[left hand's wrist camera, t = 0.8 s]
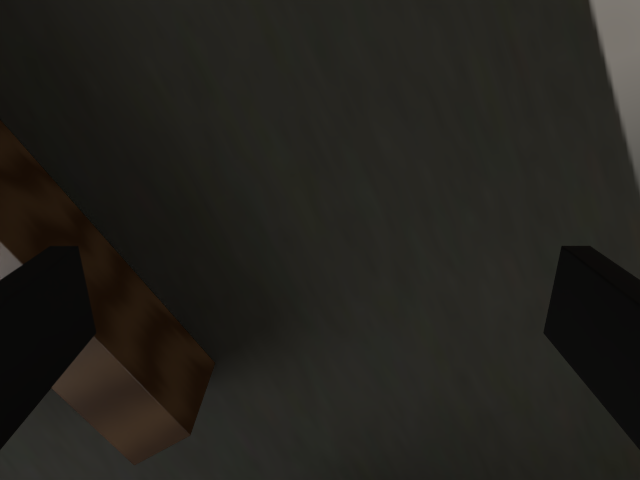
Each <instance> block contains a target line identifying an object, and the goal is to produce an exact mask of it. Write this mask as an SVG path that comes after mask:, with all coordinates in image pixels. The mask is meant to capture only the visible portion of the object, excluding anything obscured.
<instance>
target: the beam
mask: <svg viewBox="0 0 640 480" xmlns="http://www.w3.org/2000/svg"><path fill="white" fill-rule="evenodd" d="M49 246H78V247H79V252H80V257H81V261H82V266H83V271H84V276H85V280H86V285H87V290H88V295H89V300H90V304H91V309H92V314H93V319H94V323H95V328H96V334H95V335H94V337H93V338H92V339H91V340H90V341H89V343H88V344H87V345H86V346H85V348H84V349H83V350H82V351H81V352H80V354H79V355H78V356H77V357H76V358H75V360H74V361H73V362H72V363H71V365H70V366H69V367H68V368H67V369H66V371H65V372H64V373H63V374H62V375H61V377H60V378H59V379H58V380H57V381H56V383H55V384H54V385H53V386H52V389H53V390H54V391H55V392H56V393H57V394H59V395H60V396H61V397H62V398H63V399H64V400H65V401H66V402H67V403H68V404H69V405H70V406H71V407H72V408H74V409H75V410H76V411H77V412H78V413H79V414H80V415H81V416H82V417H83V418H84V419H85V420H86V421H87V422H88V423H90V424H91V425H92V426H93V427H94V428H95V429H96V430H97V431H98V432H99V433H100V434H101V435H102V436H103V437H105V438H106V439H107V440H108V441H109V442H110V443H111V444H112V445H113V446H114V447H115V448H116V449H117V450H118V451H120V452H121V453H122V454H123V455H124V456H125V457H126V458H127V459H128V460H129V461H130V462H131V463H132V464H133V465H136V464H138V463H140V462H141V461H143V460H145V459H147V458H149V457H151V456H153V455H155V454H156V453H158V452H160V451H162V450H164V449H166V448H168V447H170V446H171V445H173V444H175V443H177V442H179V441H181V440H183V439H185V438H186V437H188V436H190V435H191V432H192V429H193V426H194V423H195V420H196V417H197V414H198V411H199V409H200V406H201V403H202V400H203V397H204V394H205V391H206V388H207V385H208V383H209V380H210V377H211V374H212V371H213V368H214V365H215V363H214V361H213V360H212V359H211V358H210V357H209V356H208V355H207V353H206V352H205V351H204V350H203V349H202V348H201V347H200V346H199V344H198V343H197V342H196V341H195V340H194V339H193V338H192V336H191V335H190V334H189V333H188V332H187V331H186V330H185V329H184V327H183V326H182V325H181V324H180V323H179V322H178V321H177V319H176V318H175V317H174V316H173V315H172V314H171V313H170V312H169V310H168V309H167V308H166V307H165V306H164V305H163V304H162V302H161V301H160V300H159V299H158V298H157V297H156V296H155V295H154V293H153V292H152V291H151V290H150V289H149V288H148V287H147V285H146V284H145V283H144V282H143V281H142V280H141V279H140V278H139V276H138V275H137V274H136V273H135V272H134V271H133V270H132V268H131V267H130V266H129V265H128V264H127V263H126V262H125V261H124V259H123V258H122V257H121V256H120V255H119V254H118V253H117V252H116V250H115V249H114V248H113V247H112V246H111V245H110V244H109V242H108V241H107V240H106V239H105V238H104V237H103V236H102V235H101V233H100V232H99V231H98V230H97V229H96V228H95V227H94V225H93V224H92V223H91V222H90V221H89V220H88V219H87V218H86V216H85V215H84V214H83V213H82V212H81V211H80V210H79V208H78V207H77V206H76V205H75V204H74V203H73V202H72V201H71V199H70V198H69V197H68V196H67V195H66V194H65V193H64V191H63V190H62V189H61V188H60V187H59V186H58V185H57V184H56V182H55V181H54V180H53V179H52V178H51V177H50V176H49V174H48V173H47V172H46V171H45V170H44V169H43V168H42V167H41V165H40V164H39V163H38V162H37V161H36V160H35V159H34V157H33V156H32V155H31V154H30V153H29V152H28V151H27V150H26V148H25V147H24V146H23V145H22V144H21V143H20V142H19V140H18V139H17V138H16V137H15V136H14V135H13V134H12V133H11V131H10V130H9V129H8V128H7V127H6V126H5V125H4V123H3V122H2V121H1V120H0V280H1V279H2V278H4V277H5V276H7V275H8V274H10V273H11V272H13V271H14V270H16V269H17V268H19V267H20V266H21V265H23V264H24V263H26V262H27V261H29V260H30V259H32V258H33V257H35V256H36V255H38V254H39V253H41V252H42V251H43V250H45V249H46V248H48V247H49Z"/></svg>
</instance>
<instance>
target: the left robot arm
mask: <svg viewBox="0 0 640 480" xmlns="http://www.w3.org/2000/svg"><path fill="white" fill-rule="evenodd" d="M95 334H96V328H95V323H94V319H93V314H92V309H91V304H90V300H89V295H88V290H87V285H86V280H85V276H84V271H83V266H82V261H81V257H80V252H79V247H78V246H49V247H48V248H46V249H45V250H43V251H42V252H41V253H39V254H38V255H36V256H35V257H33V258H32V259H30V260H29V261H27V262H26V263H24V264H23V265H21V266H20V267H19V268H17V269H16V270H14V271H13V272H11V273H10V274H8V275H7V276H5V277H4V278H2V279H1V280H0V449H1V448H2V447H3V446H4V445H5V443H6V442H7V441H8V440H9V439H10V437H11V436H12V435H13V434H14V432H15V431H16V430H17V429H18V428H19V426H20V425H21V424H22V423H23V422H24V420H25V419H26V418H27V417H28V415H29V414H30V413H31V412H32V411H33V409H34V408H35V407H36V406H37V405H38V403H39V402H40V401H41V400H42V398H43V397H44V396H45V395H46V394H47V392H48V391H49V390H50V389H51V388H52V386H53V385H54V384H55V383H56V381H57V380H58V379H59V378H60V377H61V375H62V374H63V373H64V372H65V371H66V369H67V368H68V367H69V366H70V365H71V363H72V362H73V361H74V360H75V358H76V357H77V356H78V355H79V354H80V352H81V351H82V350H83V349H84V348H85V346H86V345H87V344H88V343H89V341H90V340H91V339H92V338H93V337H94V335H95ZM544 334H545V335H546V337H547V338H548V339H549V340H550V341H551V343H552V344H553V345H554V346H555V348H556V349H557V350H558V351H559V352H560V354H561V355H562V356H563V357H564V358H565V360H566V361H567V362H568V363H569V365H570V366H571V367H572V368H573V369H574V371H575V372H576V373H577V374H578V375H579V377H580V378H581V379H582V380H583V381H584V383H585V384H586V385H587V386H588V388H589V389H590V390H591V391H592V392H593V394H594V395H595V396H596V397H597V398H598V400H599V401H600V402H601V403H602V405H603V406H604V407H605V408H606V409H607V411H608V412H609V413H610V414H611V415H612V417H613V418H614V419H615V420H616V422H617V423H618V424H619V425H620V426H621V428H622V429H623V430H624V431H625V432H626V434H627V435H628V436H629V437H630V439H631V440H632V441H633V442H634V443H635V445H636V446H637V447H638V448H639V449H640V280H639V279H638V278H636V277H635V276H633V275H632V274H630V273H629V272H627V271H626V270H624V269H623V268H621V267H620V266H619V265H617V264H616V263H614V262H613V261H611V260H610V259H608V258H607V257H605V256H604V255H602V254H601V253H599V252H598V251H597V250H595V249H594V248H592V247H591V246H562V247H561V252H560V257H559V261H558V266H557V271H556V276H555V280H554V285H553V290H552V295H551V300H550V304H549V309H548V314H547V319H546V323H545V328H544Z"/></svg>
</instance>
